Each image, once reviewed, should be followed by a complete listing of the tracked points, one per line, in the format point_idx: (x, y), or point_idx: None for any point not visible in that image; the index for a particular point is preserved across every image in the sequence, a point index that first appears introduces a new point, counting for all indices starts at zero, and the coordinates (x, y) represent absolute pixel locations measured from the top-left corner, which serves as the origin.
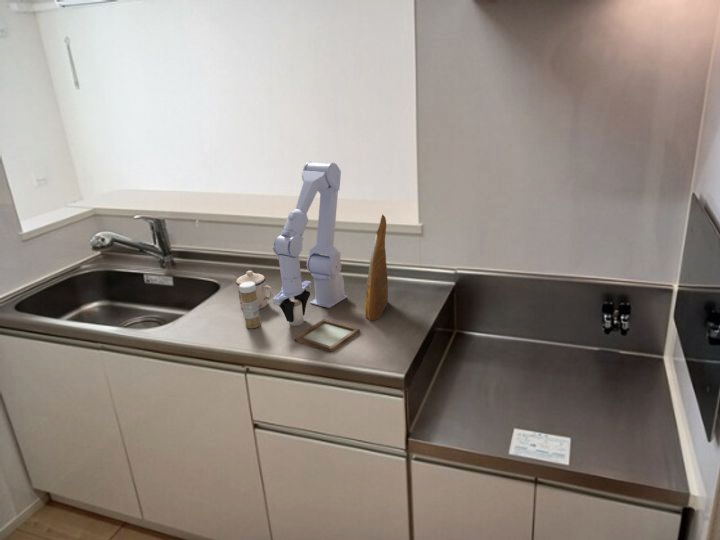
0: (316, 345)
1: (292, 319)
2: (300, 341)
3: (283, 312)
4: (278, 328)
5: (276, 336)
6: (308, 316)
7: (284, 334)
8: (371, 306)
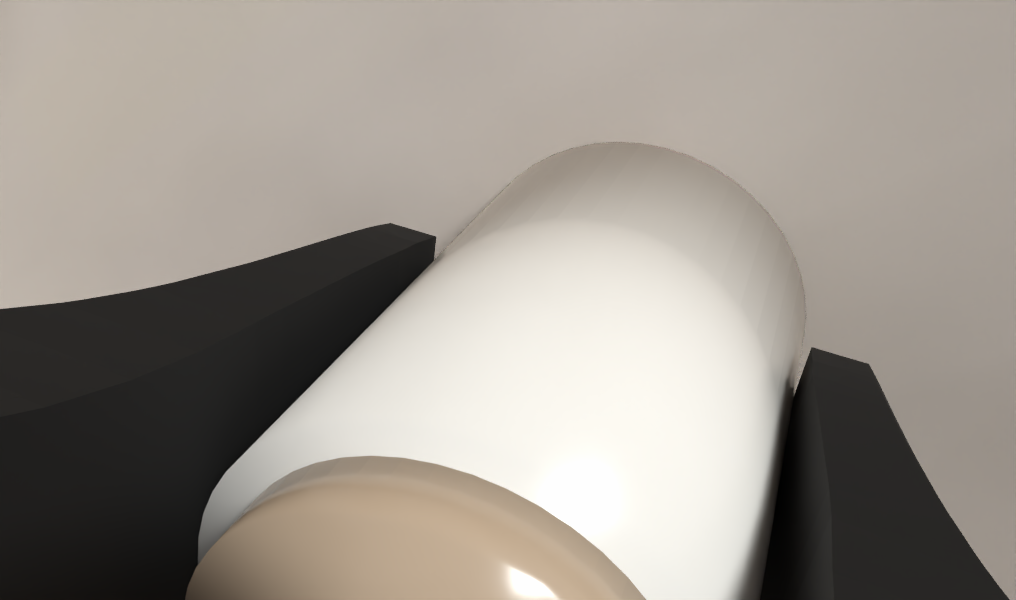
0: None
1: None
2: None
3: (196, 284)
4: (253, 56)
5: (37, 182)
6: (998, 464)
7: (151, 284)
8: None
